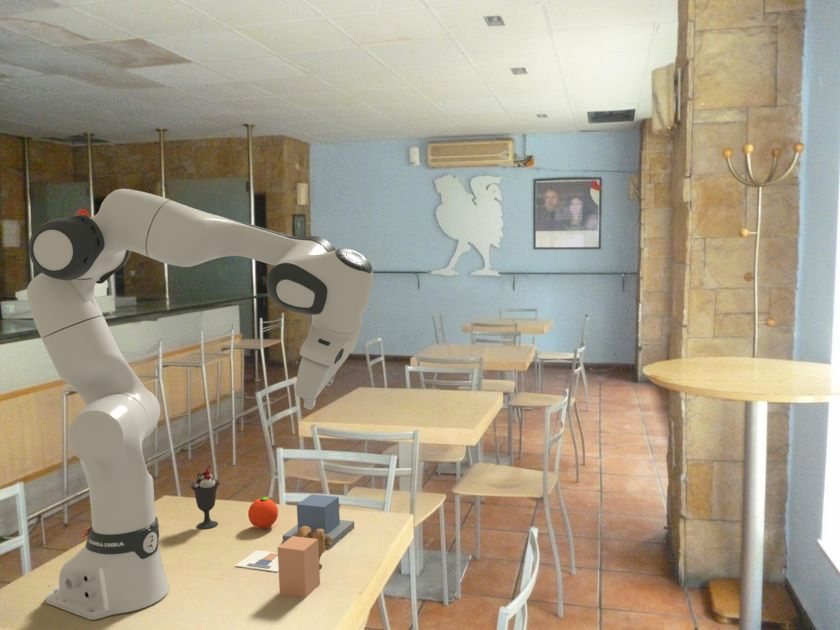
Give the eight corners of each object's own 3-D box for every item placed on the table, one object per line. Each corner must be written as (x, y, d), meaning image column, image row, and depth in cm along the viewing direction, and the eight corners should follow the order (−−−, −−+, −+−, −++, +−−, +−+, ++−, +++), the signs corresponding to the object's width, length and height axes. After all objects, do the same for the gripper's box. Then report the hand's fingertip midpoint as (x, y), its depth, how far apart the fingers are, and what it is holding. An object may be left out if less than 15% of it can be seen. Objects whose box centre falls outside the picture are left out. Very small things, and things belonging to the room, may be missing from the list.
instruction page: (235, 566, 147) (235, 565, 147) (256, 551, 154) (256, 549, 154) (277, 572, 143) (277, 570, 143) (297, 556, 151) (297, 554, 151)
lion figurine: (336, 572, 143) (335, 529, 142) (312, 579, 140) (311, 535, 139) (306, 547, 155) (305, 507, 154) (283, 553, 152) (281, 512, 151)
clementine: (260, 519, 173) (258, 491, 173) (285, 521, 172) (284, 492, 171) (243, 531, 166) (241, 502, 165) (270, 534, 164) (268, 504, 163)
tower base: (282, 541, 159) (281, 507, 158) (308, 522, 170) (307, 490, 170) (331, 547, 155) (329, 512, 154) (354, 527, 166) (353, 494, 166)
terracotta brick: (279, 593, 134) (277, 547, 134) (294, 580, 140) (292, 536, 139) (305, 597, 133) (303, 550, 132) (320, 584, 138) (318, 539, 137)
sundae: (217, 530, 167) (214, 467, 166) (189, 530, 167) (185, 468, 166) (225, 519, 174) (222, 459, 173) (198, 520, 174) (194, 460, 173)
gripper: (337, 307, 140) (322, 365, 146) (296, 351, 122) (281, 415, 128) (367, 318, 140) (351, 376, 146) (330, 364, 121) (313, 428, 127)
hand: (318, 395), depth 137 cm, fingers open, 8 cm apart
